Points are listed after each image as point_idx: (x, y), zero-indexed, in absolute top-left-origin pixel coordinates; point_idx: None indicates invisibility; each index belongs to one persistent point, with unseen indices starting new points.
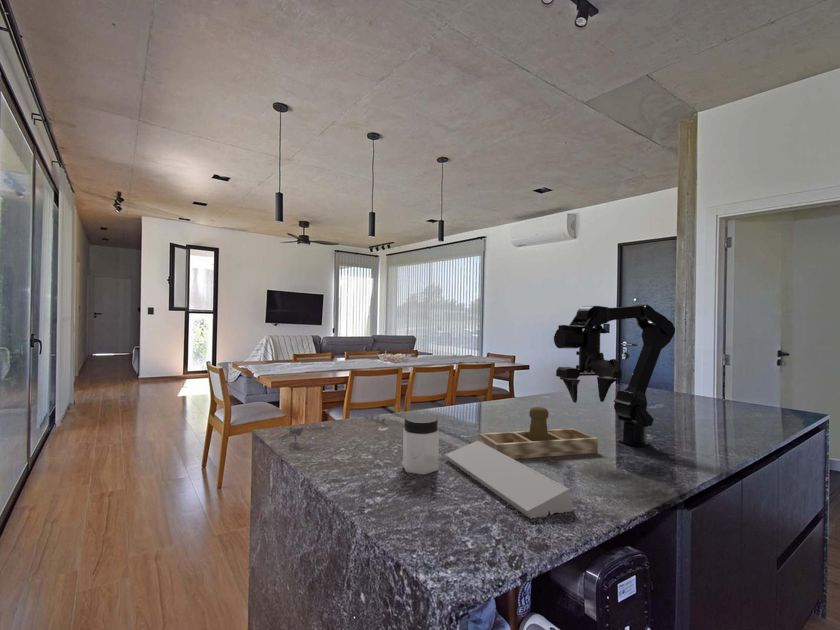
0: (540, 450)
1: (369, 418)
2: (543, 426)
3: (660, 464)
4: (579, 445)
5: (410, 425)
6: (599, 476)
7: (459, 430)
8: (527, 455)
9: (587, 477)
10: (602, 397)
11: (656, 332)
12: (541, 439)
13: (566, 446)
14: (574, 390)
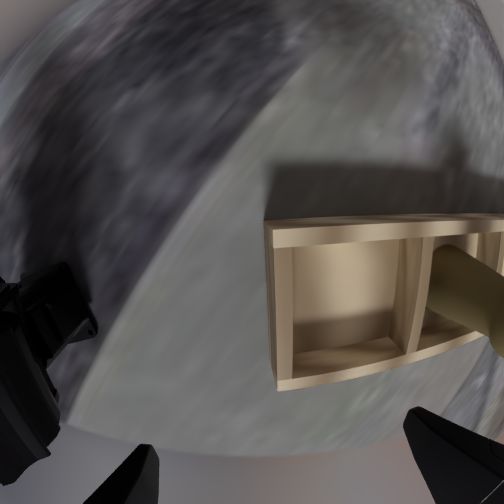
0: (472, 216)
1: (498, 434)
2: (496, 274)
3: (117, 74)
4: (360, 219)
5: None
6: (391, 35)
7: (461, 414)
8: (487, 214)
9: (420, 45)
10: (145, 472)
11: None
12: (472, 256)
13: (410, 218)
14: (495, 445)
